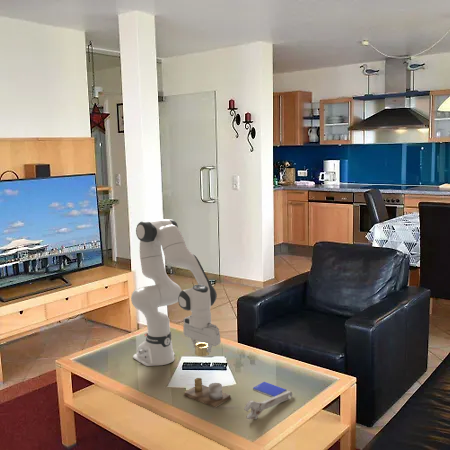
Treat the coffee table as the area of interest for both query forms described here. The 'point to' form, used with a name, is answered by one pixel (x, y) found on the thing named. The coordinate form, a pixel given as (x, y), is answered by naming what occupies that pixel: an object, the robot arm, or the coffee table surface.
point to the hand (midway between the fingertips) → (202, 349)
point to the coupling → (201, 349)
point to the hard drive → (269, 389)
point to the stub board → (207, 393)
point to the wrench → (265, 404)
